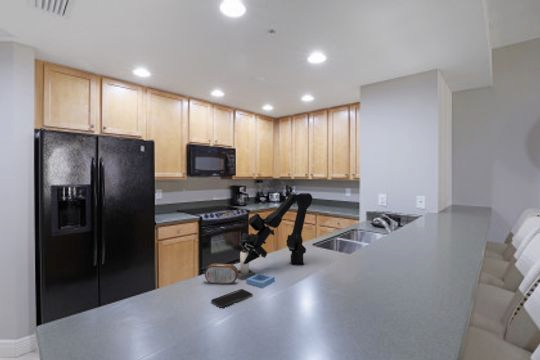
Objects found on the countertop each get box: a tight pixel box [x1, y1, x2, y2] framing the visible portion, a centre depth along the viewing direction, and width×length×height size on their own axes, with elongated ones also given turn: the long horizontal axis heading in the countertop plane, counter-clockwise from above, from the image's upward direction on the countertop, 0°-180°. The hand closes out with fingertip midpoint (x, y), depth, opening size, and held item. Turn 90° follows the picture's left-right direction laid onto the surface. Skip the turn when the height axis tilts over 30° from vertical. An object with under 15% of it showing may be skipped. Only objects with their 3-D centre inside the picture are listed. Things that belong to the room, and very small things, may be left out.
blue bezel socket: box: [245, 272, 276, 289], centre depth 116 cm, size 9×9×2 cm
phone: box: [210, 288, 254, 309], centre depth 99 cm, size 8×1×15 cm
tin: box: [204, 263, 239, 285], centre depth 116 cm, size 15×3×8 cm, turn 84°
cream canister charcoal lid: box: [239, 248, 250, 275], centre depth 124 cm, size 4×4×12 cm
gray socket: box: [237, 268, 257, 281], centre depth 124 cm, size 8×8×2 cm
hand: (241, 262), depth 123 cm, fingers closed on cream canister charcoal lid, 4 cm apart
